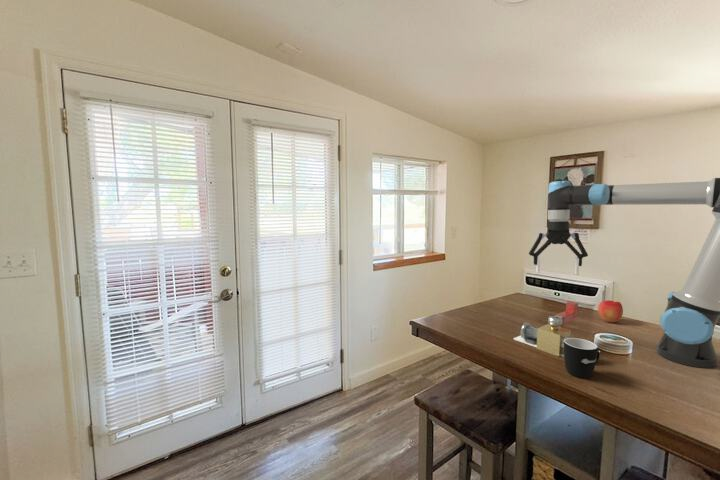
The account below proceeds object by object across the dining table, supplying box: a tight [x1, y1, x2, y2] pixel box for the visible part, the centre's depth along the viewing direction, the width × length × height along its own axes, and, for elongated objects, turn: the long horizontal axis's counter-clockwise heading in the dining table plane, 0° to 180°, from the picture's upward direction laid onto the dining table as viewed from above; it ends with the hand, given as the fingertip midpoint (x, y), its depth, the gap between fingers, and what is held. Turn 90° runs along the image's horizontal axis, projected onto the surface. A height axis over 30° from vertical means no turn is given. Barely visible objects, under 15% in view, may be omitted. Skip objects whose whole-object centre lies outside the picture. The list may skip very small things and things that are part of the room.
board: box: [513, 334, 601, 358], centre depth 128 cm, size 25×15×1 cm, turn 34°
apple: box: [597, 299, 624, 323], centre depth 153 cm, size 10×10×10 cm
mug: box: [563, 337, 601, 379], centre depth 107 cm, size 12×9×10 cm
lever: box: [547, 300, 579, 327], centre depth 127 cm, size 17×4×6 cm, turn 124°
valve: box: [519, 322, 572, 357], centre depth 124 cm, size 22×8×10 cm, turn 34°
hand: (556, 273), depth 133 cm, fingers open, 13 cm apart
